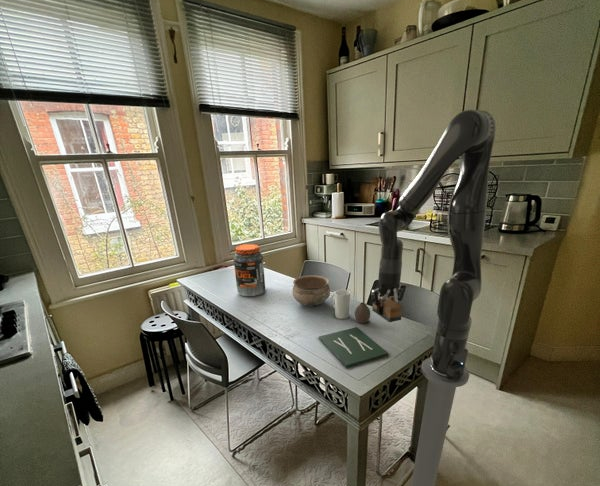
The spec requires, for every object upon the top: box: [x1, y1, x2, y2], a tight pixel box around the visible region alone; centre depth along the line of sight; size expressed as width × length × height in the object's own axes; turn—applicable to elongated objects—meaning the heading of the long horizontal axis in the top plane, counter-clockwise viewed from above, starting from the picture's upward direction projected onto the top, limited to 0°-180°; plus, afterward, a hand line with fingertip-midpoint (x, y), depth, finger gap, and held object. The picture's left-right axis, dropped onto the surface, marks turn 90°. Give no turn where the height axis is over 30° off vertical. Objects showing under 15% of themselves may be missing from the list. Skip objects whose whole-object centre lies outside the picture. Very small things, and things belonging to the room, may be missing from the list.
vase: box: [354, 302, 371, 324], centre depth 140 cm, size 7×7×9 cm
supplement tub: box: [233, 243, 266, 297], centre depth 172 cm, size 16×16×26 cm
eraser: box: [371, 296, 403, 323], centre depth 117 cm, size 11×5×6 cm, turn 21°
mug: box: [330, 289, 351, 320], centre depth 146 cm, size 10×7×12 cm, turn 41°
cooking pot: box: [291, 275, 331, 308], centre depth 158 cm, size 25×19×12 cm
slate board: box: [318, 326, 389, 369], centre depth 123 cm, size 22×18×1 cm
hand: (386, 312), depth 117 cm, fingers closed on eraser, 5 cm apart
